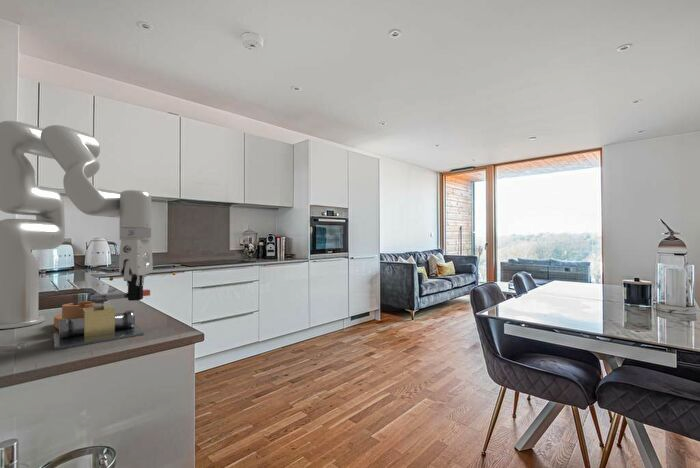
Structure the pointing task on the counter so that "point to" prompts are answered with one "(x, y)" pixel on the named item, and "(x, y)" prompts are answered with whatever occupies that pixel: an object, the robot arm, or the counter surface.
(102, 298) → the lever
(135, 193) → the robot arm
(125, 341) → the counter surface
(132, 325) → the valve
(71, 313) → the bracket
